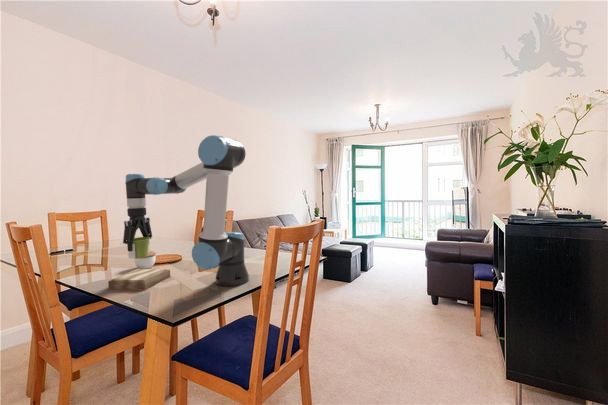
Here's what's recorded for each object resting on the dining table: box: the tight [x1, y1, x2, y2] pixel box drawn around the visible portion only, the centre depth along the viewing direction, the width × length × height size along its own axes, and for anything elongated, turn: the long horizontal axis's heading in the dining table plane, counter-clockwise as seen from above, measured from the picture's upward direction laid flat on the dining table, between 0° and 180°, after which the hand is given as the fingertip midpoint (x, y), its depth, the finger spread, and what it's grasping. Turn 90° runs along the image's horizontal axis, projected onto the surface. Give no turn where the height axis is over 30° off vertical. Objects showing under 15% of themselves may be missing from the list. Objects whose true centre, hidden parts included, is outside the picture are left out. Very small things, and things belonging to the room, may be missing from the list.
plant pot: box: [130, 236, 151, 260], centre depth 133 cm, size 9×9×9 cm
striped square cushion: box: [107, 268, 171, 291], centre depth 134 cm, size 18×18×4 cm
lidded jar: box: [133, 251, 157, 269], centre depth 159 cm, size 11×11×9 cm
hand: (139, 255), depth 133 cm, fingers closed on plant pot, 9 cm apart
